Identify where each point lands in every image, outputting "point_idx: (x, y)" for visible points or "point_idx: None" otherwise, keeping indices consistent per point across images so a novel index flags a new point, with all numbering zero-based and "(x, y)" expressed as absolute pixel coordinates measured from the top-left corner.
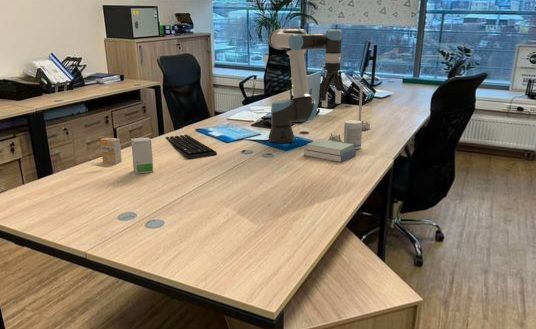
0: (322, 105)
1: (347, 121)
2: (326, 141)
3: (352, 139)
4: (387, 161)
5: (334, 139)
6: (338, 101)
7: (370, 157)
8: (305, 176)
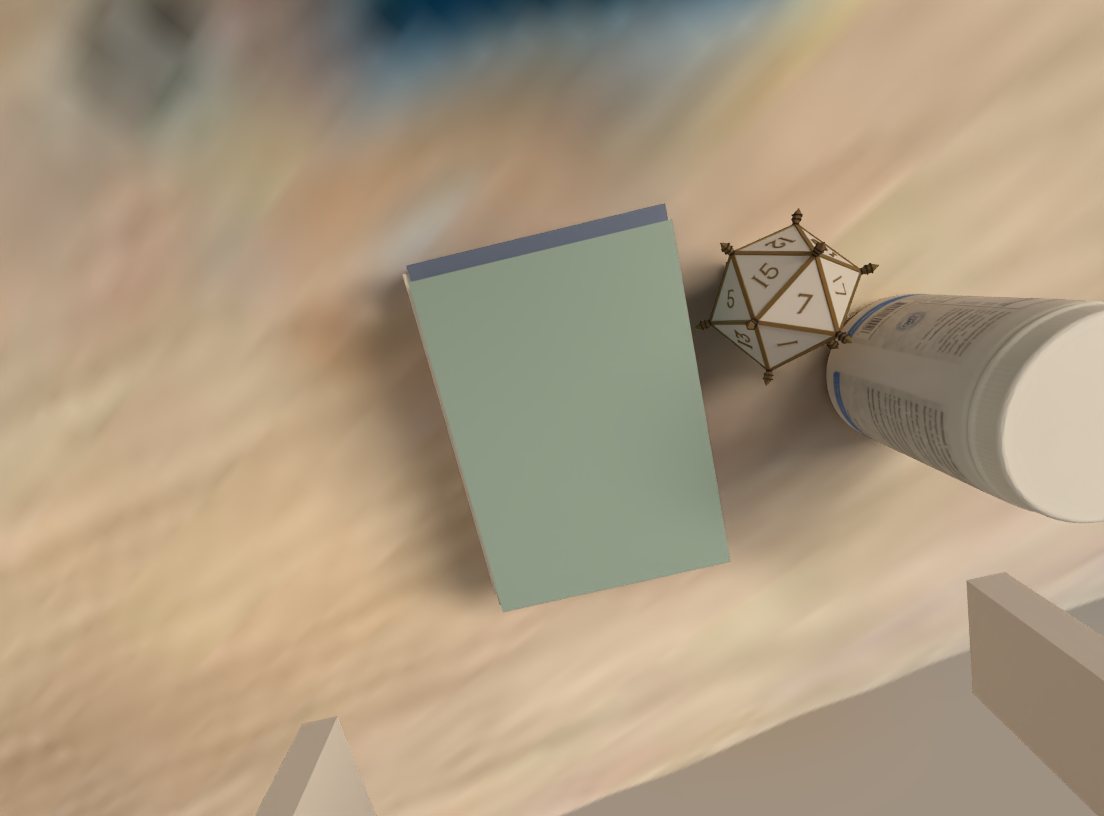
0: (293, 769)
1: (1088, 353)
2: (635, 335)
3: (882, 433)
4: (739, 734)
5: (751, 334)
6: (1014, 695)
7: (743, 620)
8: (99, 636)
